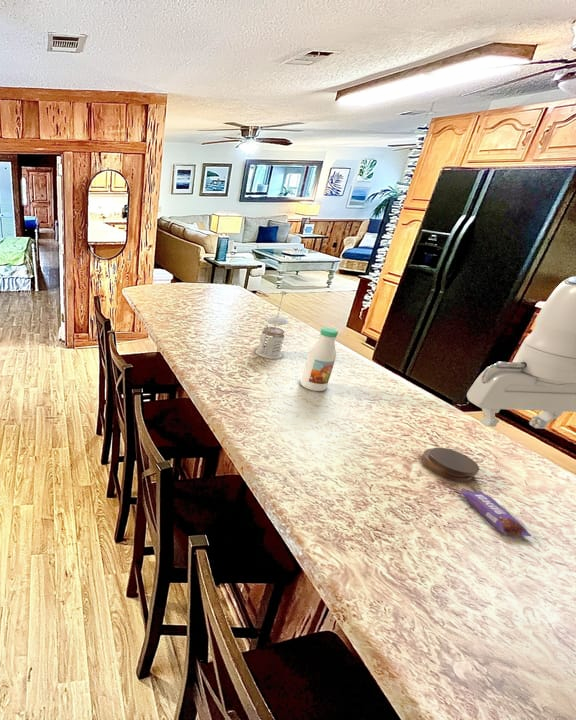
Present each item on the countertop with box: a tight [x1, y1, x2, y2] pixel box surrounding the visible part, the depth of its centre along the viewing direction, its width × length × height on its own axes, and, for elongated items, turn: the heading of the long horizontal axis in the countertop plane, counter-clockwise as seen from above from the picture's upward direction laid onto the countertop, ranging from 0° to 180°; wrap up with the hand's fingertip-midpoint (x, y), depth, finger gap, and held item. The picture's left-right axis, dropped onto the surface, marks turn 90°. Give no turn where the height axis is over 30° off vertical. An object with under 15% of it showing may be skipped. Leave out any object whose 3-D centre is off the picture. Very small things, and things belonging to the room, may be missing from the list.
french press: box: [255, 290, 289, 360], centre depth 145 cm, size 10×12×25 cm
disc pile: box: [422, 447, 480, 483], centre depth 92 cm, size 10×10×3 cm
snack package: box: [459, 490, 532, 537], centre depth 80 cm, size 12×2×5 cm
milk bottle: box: [300, 327, 339, 392], centre depth 124 cm, size 8×8×20 cm
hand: (511, 425), depth 76 cm, fingers open, 8 cm apart
